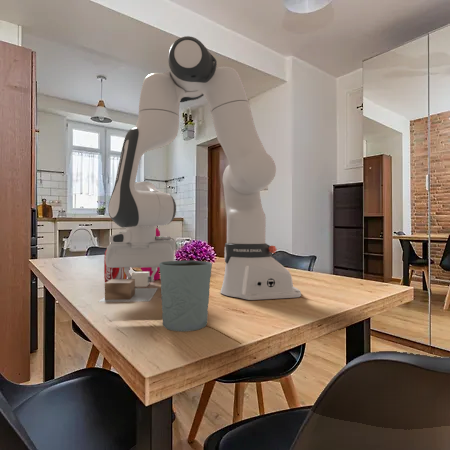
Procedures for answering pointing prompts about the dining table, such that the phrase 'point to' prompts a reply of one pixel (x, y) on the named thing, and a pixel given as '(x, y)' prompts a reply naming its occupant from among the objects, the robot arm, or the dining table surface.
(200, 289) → the green plant pot
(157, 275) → the pepper mill
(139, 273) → the cream cube
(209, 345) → the dining table surface
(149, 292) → the board
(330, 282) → the dining table surface
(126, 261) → the robot arm
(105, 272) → the soda can
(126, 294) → the walnut base
